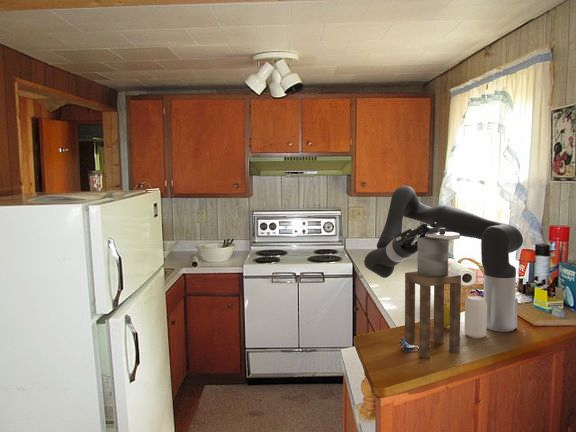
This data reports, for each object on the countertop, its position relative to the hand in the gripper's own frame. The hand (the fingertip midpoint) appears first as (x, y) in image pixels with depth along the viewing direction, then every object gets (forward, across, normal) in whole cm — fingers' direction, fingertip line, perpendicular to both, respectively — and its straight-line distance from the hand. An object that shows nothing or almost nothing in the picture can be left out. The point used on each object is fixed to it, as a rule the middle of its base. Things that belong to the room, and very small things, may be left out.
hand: (431, 225), depth 131 cm
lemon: (-24, +12, +26) cm, 38 cm away
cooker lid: (+1, 0, +4) cm, 4 cm away
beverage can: (-17, +16, +31) cm, 39 cm away
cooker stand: (-13, -3, +33) cm, 35 cm away
